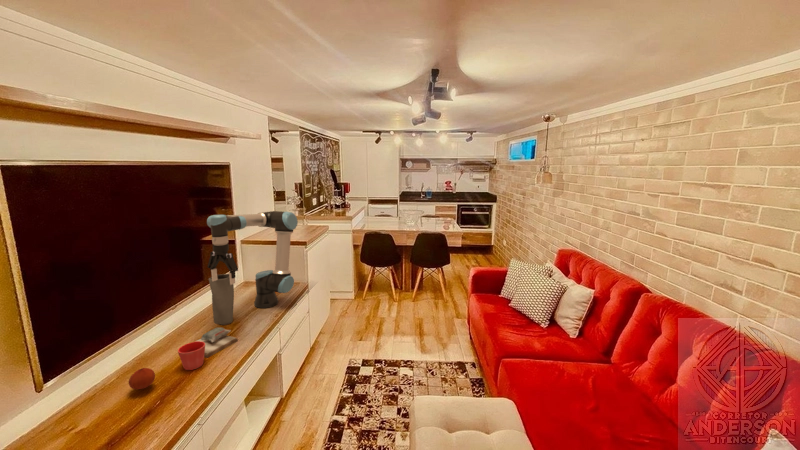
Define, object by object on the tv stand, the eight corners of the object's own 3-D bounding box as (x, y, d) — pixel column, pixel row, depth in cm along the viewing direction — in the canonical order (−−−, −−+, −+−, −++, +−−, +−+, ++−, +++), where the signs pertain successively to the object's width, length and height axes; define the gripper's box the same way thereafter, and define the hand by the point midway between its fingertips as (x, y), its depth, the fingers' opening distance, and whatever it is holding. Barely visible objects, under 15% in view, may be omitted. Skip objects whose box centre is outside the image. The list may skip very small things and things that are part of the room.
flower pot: (182, 362, 156) (180, 343, 155) (208, 357, 160) (206, 339, 159) (177, 374, 147) (175, 354, 145) (205, 368, 151) (203, 349, 149)
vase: (208, 327, 192) (203, 279, 187) (221, 318, 204) (217, 273, 199) (227, 328, 190) (223, 280, 186) (240, 319, 202) (236, 273, 198)
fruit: (132, 384, 140) (129, 367, 138) (157, 378, 144) (155, 361, 143) (127, 396, 132) (124, 378, 131) (154, 389, 136) (151, 372, 135)
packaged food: (231, 334, 178) (230, 326, 177) (212, 345, 167) (211, 336, 166) (219, 332, 181) (218, 324, 180) (200, 342, 170) (199, 334, 169)
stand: (214, 334, 183) (214, 331, 183) (237, 340, 176) (237, 337, 176) (183, 350, 167) (182, 346, 166) (207, 357, 160) (206, 354, 160)
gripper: (197, 243, 172) (201, 281, 175) (231, 247, 163) (234, 287, 166) (210, 240, 179) (213, 277, 182) (243, 244, 169) (246, 283, 173)
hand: (223, 282), depth 174 cm, fingers open, 13 cm apart
